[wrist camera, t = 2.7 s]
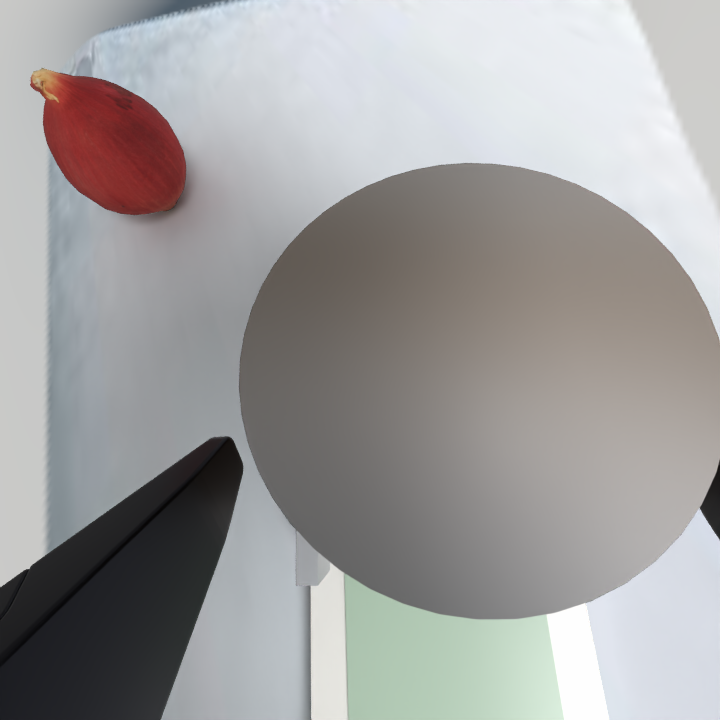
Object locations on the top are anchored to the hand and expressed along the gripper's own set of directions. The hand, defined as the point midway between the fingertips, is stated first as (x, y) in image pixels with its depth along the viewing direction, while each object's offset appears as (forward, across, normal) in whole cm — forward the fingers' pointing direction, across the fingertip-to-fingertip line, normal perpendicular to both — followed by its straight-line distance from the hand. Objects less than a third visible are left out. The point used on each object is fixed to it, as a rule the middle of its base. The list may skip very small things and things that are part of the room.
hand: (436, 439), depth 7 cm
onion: (+17, +14, -5) cm, 23 cm away
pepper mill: (+6, 0, +5) cm, 8 cm away
